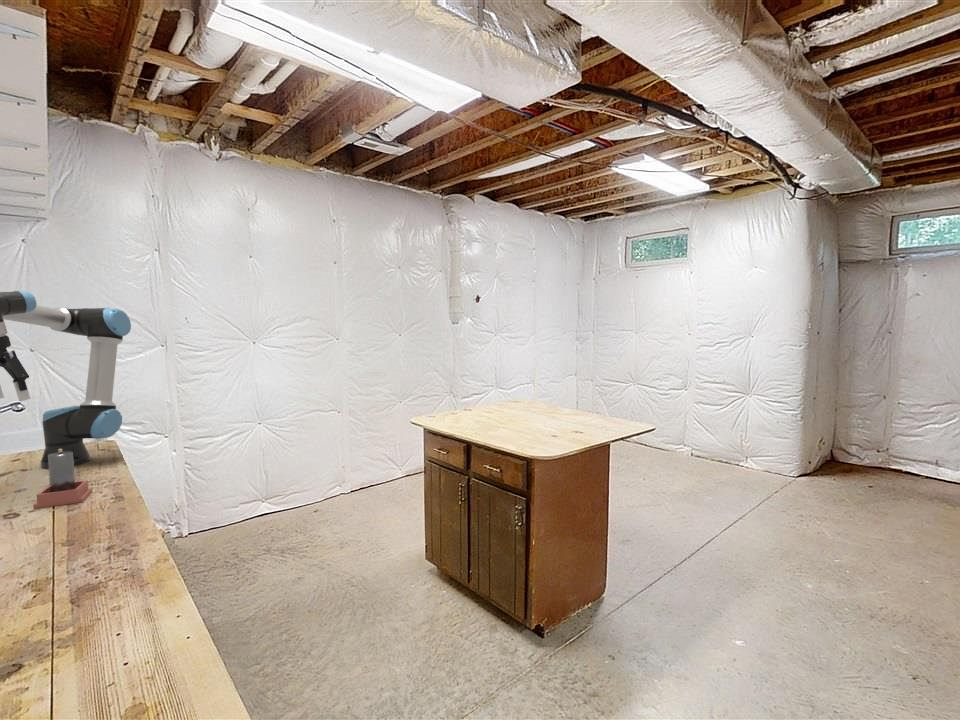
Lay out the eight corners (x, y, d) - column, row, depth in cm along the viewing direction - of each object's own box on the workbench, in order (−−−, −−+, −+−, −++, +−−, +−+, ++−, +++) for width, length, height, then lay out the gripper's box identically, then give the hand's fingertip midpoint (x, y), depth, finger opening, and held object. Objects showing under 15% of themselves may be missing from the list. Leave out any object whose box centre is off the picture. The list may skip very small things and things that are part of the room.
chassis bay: (46, 497, 154) (45, 485, 153) (92, 491, 159) (91, 479, 158) (33, 508, 145) (32, 495, 144) (82, 501, 150) (81, 489, 150)
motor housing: (55, 494, 153) (51, 447, 152) (78, 491, 156) (75, 445, 154) (47, 500, 148) (44, 452, 146) (71, 497, 150) (68, 450, 149)
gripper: (-48, 339, 151) (-27, 401, 156) (2, 338, 143) (22, 404, 148) (-18, 334, 158) (1, 394, 163) (31, 334, 150) (49, 397, 155)
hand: (11, 399), depth 155 cm, fingers open, 13 cm apart
